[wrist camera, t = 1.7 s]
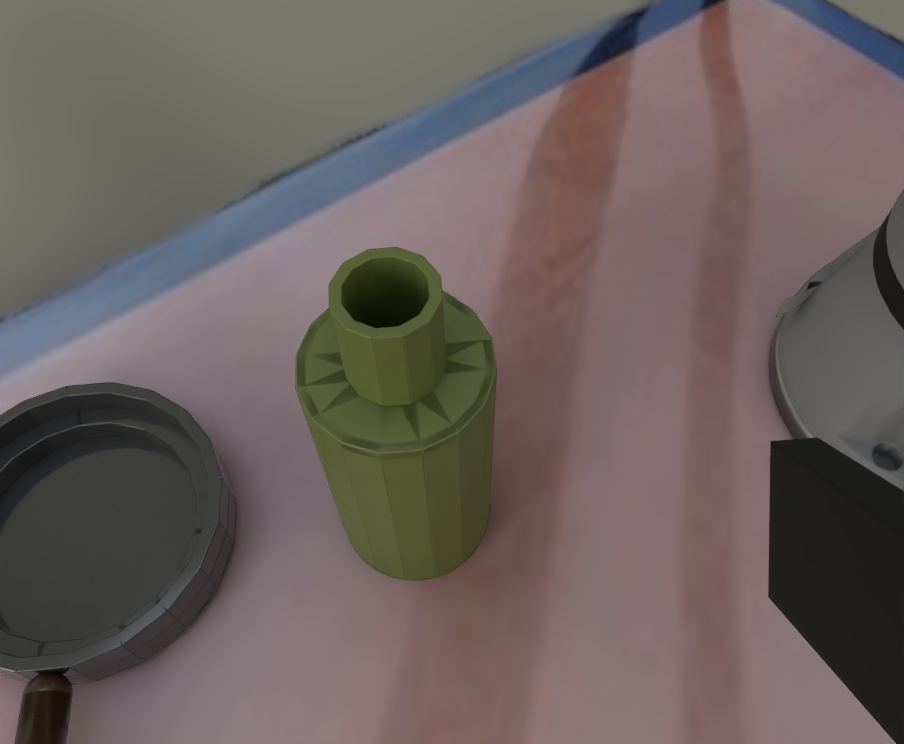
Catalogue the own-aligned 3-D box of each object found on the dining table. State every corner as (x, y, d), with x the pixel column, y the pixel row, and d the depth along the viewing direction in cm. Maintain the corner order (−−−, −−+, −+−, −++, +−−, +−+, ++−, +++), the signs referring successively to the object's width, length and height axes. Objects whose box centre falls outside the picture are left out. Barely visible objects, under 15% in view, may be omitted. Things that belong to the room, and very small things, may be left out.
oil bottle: (480, 439, 41) (485, 198, 27) (496, 573, 38) (512, 377, 23) (342, 451, 41) (274, 215, 27) (346, 587, 38) (268, 399, 23)
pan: (243, 404, 43) (228, 371, 40) (230, 671, 36) (211, 653, 33) (-19, 427, 42) (-52, 395, 39) (-83, 702, 35) (-129, 686, 33)
